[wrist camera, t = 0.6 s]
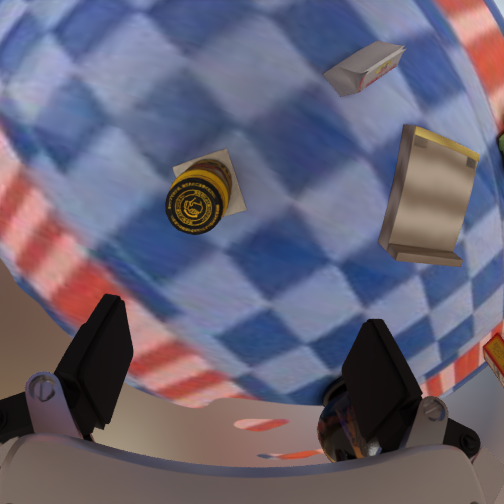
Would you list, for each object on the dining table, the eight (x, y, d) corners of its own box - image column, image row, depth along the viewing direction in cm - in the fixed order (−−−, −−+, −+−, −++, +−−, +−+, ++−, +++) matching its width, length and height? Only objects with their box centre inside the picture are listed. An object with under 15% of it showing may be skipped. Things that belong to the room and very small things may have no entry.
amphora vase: (294, 410, 58) (309, 514, 33) (340, 352, 49) (382, 483, 24) (364, 412, 61) (389, 497, 36) (413, 360, 52) (460, 456, 27)
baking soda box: (498, 345, 56) (521, 377, 41) (484, 358, 57) (506, 392, 43) (497, 332, 52) (524, 367, 38) (482, 346, 54) (508, 383, 40)
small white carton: (322, 74, 28) (350, 58, 19) (358, 50, 26) (394, 32, 17) (340, 96, 30) (374, 89, 21) (375, 72, 28) (415, 61, 19)
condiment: (226, 148, 33) (217, 159, 22) (246, 209, 36) (247, 249, 25) (172, 167, 33) (140, 188, 22) (195, 225, 37) (175, 269, 26)
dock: (403, 124, 31) (427, 127, 25) (467, 150, 32) (491, 158, 26) (377, 242, 39) (395, 260, 33) (441, 250, 40) (460, 266, 34)
